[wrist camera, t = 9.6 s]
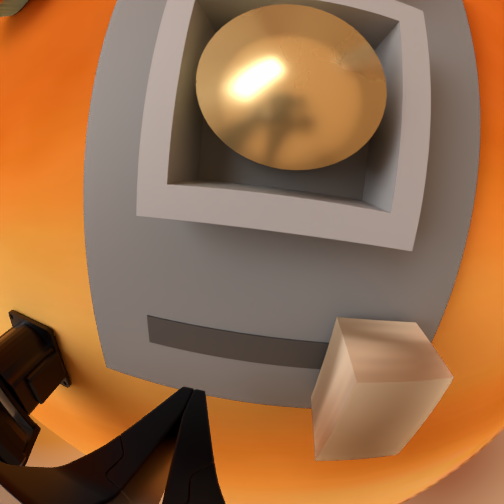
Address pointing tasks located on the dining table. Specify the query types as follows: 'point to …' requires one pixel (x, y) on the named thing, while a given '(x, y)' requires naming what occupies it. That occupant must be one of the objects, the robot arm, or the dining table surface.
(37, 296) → the dining table surface
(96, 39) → the dining table surface
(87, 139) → the panel
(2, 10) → the cupcake
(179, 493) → the robot arm
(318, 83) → the button
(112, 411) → the dining table surface
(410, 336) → the tan rectangular prism
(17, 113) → the dining table surface
